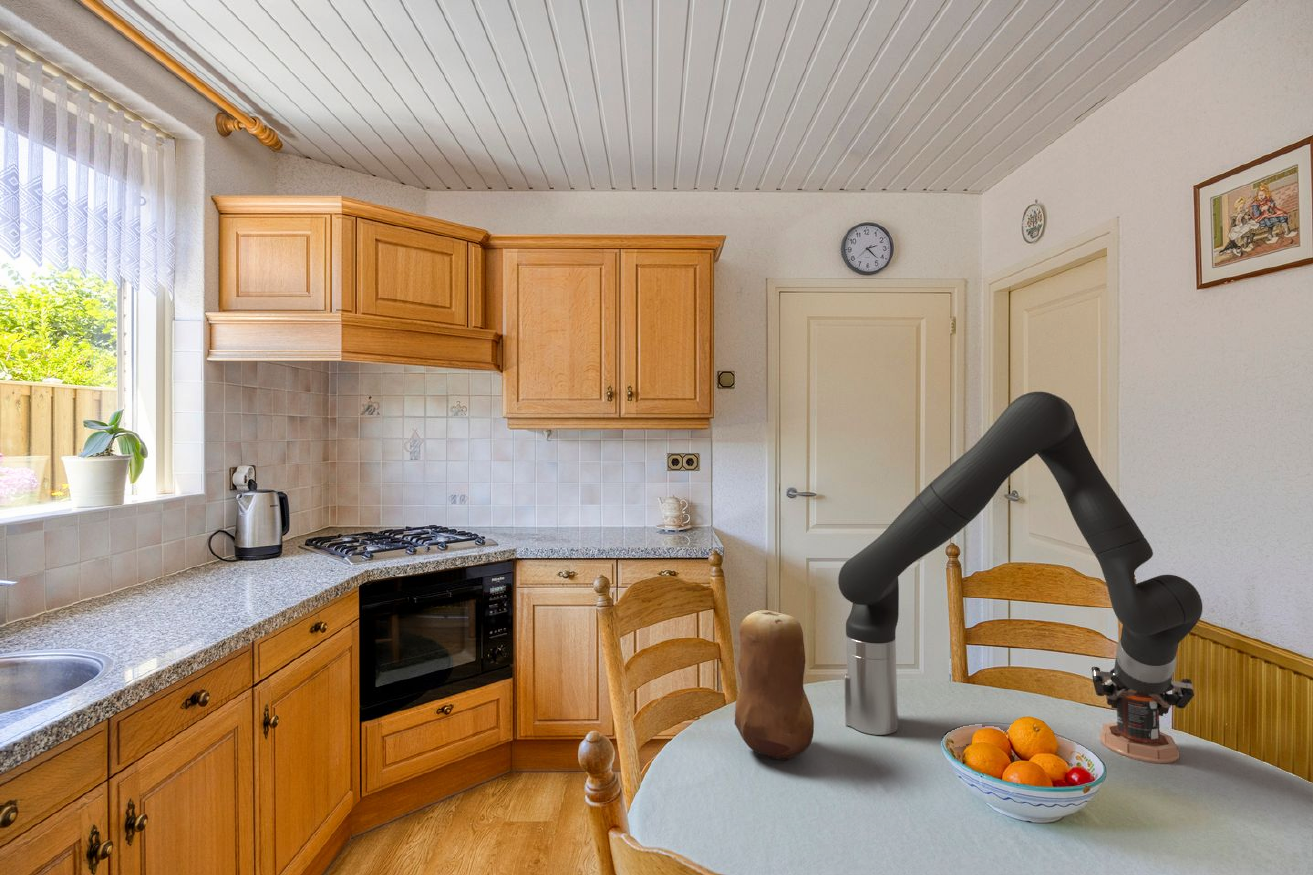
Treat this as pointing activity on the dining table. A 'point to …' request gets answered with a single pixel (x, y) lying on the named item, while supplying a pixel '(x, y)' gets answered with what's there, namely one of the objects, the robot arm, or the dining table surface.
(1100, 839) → the dining table surface
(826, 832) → the dining table surface
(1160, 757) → the coaster dish
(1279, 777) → the dining table surface
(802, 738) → the butternut squash
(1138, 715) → the supplement bottle
